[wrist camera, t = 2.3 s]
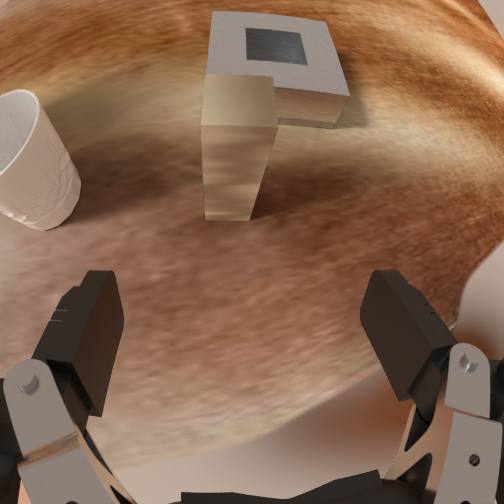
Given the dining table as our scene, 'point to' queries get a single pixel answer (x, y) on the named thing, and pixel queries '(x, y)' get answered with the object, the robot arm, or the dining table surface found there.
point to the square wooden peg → (235, 142)
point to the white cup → (34, 165)
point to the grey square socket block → (283, 63)
